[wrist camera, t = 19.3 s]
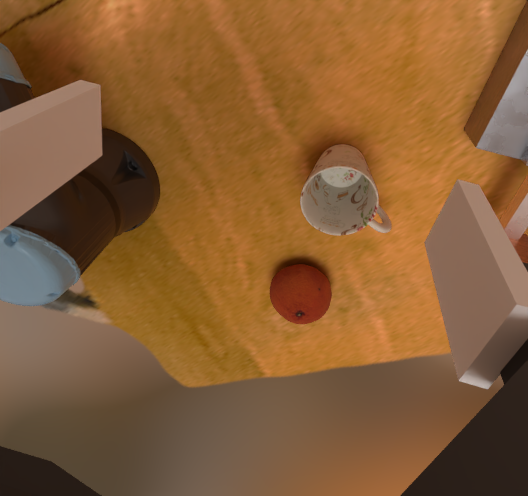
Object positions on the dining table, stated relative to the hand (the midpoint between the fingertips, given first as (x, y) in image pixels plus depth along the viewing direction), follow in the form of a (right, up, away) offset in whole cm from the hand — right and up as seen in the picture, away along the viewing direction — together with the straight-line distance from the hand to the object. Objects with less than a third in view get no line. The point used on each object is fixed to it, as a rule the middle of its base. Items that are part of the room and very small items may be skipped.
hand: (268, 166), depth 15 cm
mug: (+11, +6, +39) cm, 41 cm away
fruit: (+6, -8, +49) cm, 50 cm away
